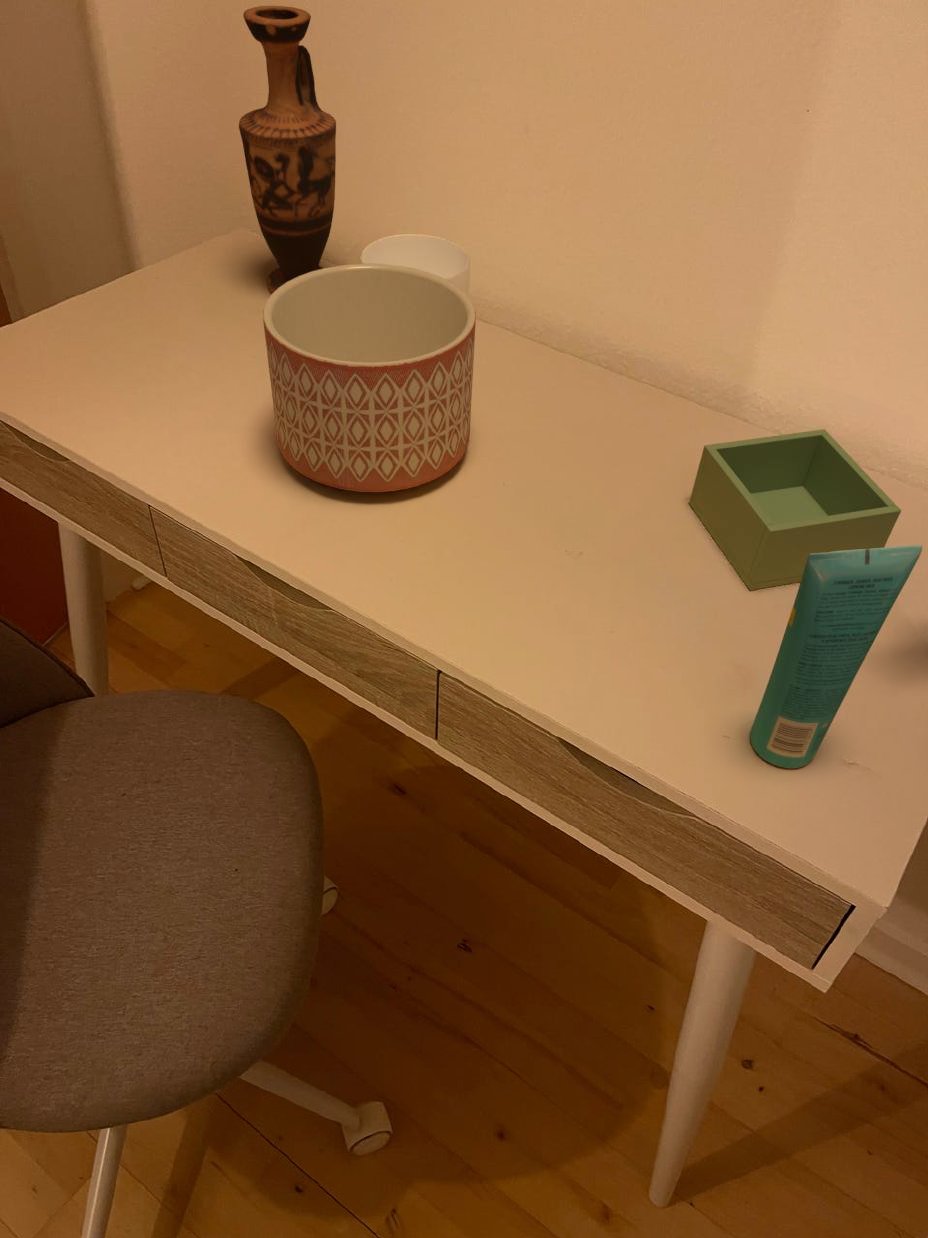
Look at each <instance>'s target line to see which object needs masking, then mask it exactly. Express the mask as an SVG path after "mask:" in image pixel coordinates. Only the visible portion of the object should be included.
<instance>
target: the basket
mask: <svg viewBox="0 0 928 1238" xmlns="http://www.w3.org/2000/svg"><path fill="white" fill-rule="evenodd" d="M688 504H689V506H690V508H691V509H692V510H693V512H694V513H695V515H696V516H697V517H698V519H699V520H700V521H701V523H702V525H703V526H704V528H705V529H706V530H707V531H708V533H709V535H710V536H711V537H712V538H713V540H714V541H715V543H716V544H717V546H718V547H719V549H720V550H721V552H722V553H723V555H724V556H725V557H726V559H727V560H728V562H729V563H730V564H731V566H732V567H733V569H734V570H735V571H736V573H737V574H738V576H739V577H740V579H741V580H742V582H743V583H744V584H745V586H746V588H747V589H748V590H749V591H756V590H761V589H766V588H772V587H778V586H785V585H789V584H797V583H801V579H802V576H803V572H804V569H805V565H806V561H807V559H808V556H809V554H811V553H824V552H825V553H827V552H833V551H843V550H858V549H872V548H884V547H886V544H887V542H888V540H889V538H890V536H891V533H892V532H893V529H894V527H895V525H896V523H897V521H898V518H899V516H900V514H901V513H902V510H901V509H900V507H899V506H898V505H897V504H896V503H895V502H894V501H893V500H892V498H890V497H889V496H888V495H887V493H885V491H884V490H883V489H882V488H881V487H880V486H879V485H878V484H877V483H876V482H875V481H874V480H873V479H872V478H871V477H870V476H869V474H868V473H866V471H865V470H864V469H863V468H862V467H861V466H860V465H859V464H858V462H857V461H855V460H854V458H852V456H851V455H850V454H849V453H848V452H847V451H846V450H845V449H844V448H843V446H842V445H840V444H839V442H837V440H835V438H834V437H833V436H832V435H831V434H830V433H829V432H828V431H827V430H826V429H824V428H823V429H816V430H809V431H801V432H794V433H793V432H792V433H786V434H779V435H771V436H764V437H755V438H749V439H743V440H742V439H741V440H735V441H728V442H719V443H713V444H712V443H711V444H705V445H704V446H703V450H702V453H701V457H700V460H699V464H698V468H697V472H696V475H695V478H694V483H693V487H692V491H691V495H690V498H689V501H688Z"/></svg>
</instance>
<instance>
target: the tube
mask: <svg viewBox="0 0 928 1238" xmlns="http://www.w3.org/2000/svg"><path fill="white" fill-rule="evenodd" d="M922 551H923V545H922V544H914V545H899V546H898V545H897V546H884V548H872V549H858V550H843V551H833V552H827V553H825V552H824V553H811V554H809V556H808V559H807V561H806V565H805V569H804V572H803V576H802V579H801V582H799V586H798V589H797V593H796V596H795V599H794V602H793V605H792V607H791V612H790V613H789V614H790V615H789V618H788V621H787V623H786V627H785V631H784V633H783V637H782V639H781V640H782V641H781V643H780V645H779V649H778V652H777V655H776V658H775V662H774V664H773V667H772V670H771V673H770V676H769V679H768V681H767V685H766V688H765V690H764V693H763V695H762V699H761V702H760V704H759V707H758V709H757V712H756V714H755V718H754V719H753V723H752V726H751V729H750V732H749V740H750V744H751V746H752V748H753V749H754V751H755V752H756V753H757V754H758V755H759V757H760V758H762V760H764V761H765V762H768V763H769V764H772V765H774V766H777V767H780V768H783V769H785V768H786V769H797V768H801V767H805V766H806V765H808V764H809V763H811V762H812V761H813V759H814V758H815V756H816V754H817V753H818V750H819V749H820V747H821V745H822V742H823V741H824V739H825V737H826V735H827V733H828V731H829V729H830V728H831V726H832V723H833V721H834V719H835V717H836V715H837V713H838V711H839V709H840V707H841V706H842V704H843V701H844V699H845V698H846V696H847V694H848V692H849V689H850V688H851V686H852V684H853V682H854V680H855V679H856V676H857V675H858V672H859V671H860V669H861V666H862V665H863V663H864V661H865V659H866V657H867V656H868V653H869V652H870V650H871V648H872V646H873V644H874V642H875V640H876V638H877V637H878V635H879V633H880V631H881V629H882V627H883V625H884V623H885V621H886V619H887V617H888V616H889V614H890V612H891V610H892V608H893V606H894V605H895V602H896V601H897V599H898V597H899V595H900V594H901V591H902V590H903V588H904V586H905V585H906V583H907V581H908V580H909V577H910V575H911V573H912V571H913V570H914V567H915V566H916V564H917V562H918V561H919V558H920V556H921V555H922Z"/></svg>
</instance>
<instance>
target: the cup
mask: <svg viewBox="0 0 928 1238" xmlns="http://www.w3.org/2000/svg"><path fill="white" fill-rule="evenodd" d="M359 264H388V265H397V266H403V267H409V268H414V269H418V270H421V271H425V272H429V273H431V274H434V275H437V276H439V277H441V278H443V279H445V280H447V281H449V282H451V283H453V284H454V285H456V286H457V287H459V288H460V289H461V290H462V291H463V292H464V293H465V294H466V295H467V296H468V297H469V298H470V296H469V295H470V276H471V256H470V255H469V253H468V252H467V251H466V249H464V247H463V246H461V245H460V244H458V243H456V242H454V241H452V240H450V239H447V238H443V237H440V236H435V235H430V234H420V233H405V234H395V235H390V236H385V237H382V238H378V239H376V240H375V241H372V242H370V243H369V244H367V245H366V246H365V247H364V248H363V249H362V251H361V253H360V255H359Z"/></svg>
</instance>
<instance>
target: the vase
mask: <svg viewBox="0 0 928 1238" xmlns="http://www.w3.org/2000/svg"><path fill="white" fill-rule="evenodd" d="M242 16H243V19H244V21H245V24H246V27H247V28H248V30H249V32H250V34H251V36H252V37H253V38H254V40H256V41H257V42H259V43H260V45H261V46H262V50H263V53H264V56H265V63H266V65H265V66H266V74H267V83H268V84H267V85H268V86H267V87H268V94H267V95H268V96H267V102H266V105H265V106H263V107H261V108H257V109H254V110H250V111H248V112H247V113H245V114H244V115H242V116H241V117H240V118H239V121H238V130H239V133H240V138H241V142H242V147H243V153H244V161H245V165H246V170H247V176H248V177H247V178H248V182H249V188H250V195H251V199H252V203H253V208H254V211H255V215H256V218H257V222H258V226H259V229H260V231H261V234H262V236H263V239H264V240H265V243H266V244H267V247H268V249H269V251H270V252H271V254H272V255H273V258H274V259H275V262H276V263H277V265H278V267H277V268H275V269H274V270H272V271H271V273H270V274H269V275H268V278H267V288H268V290H269V292H270V293H271V294H273V293H274V292H275V291H276V290H277V289H278V288H279V287H281V286H282V285H284V284H285V283H287V282H288V281H290V280H292V279H294V278H296V277H298V276H301V275H303V274H306V273H309V272H312V271H316V270H320V269H323V268H324V267H323V266H321V265H320V264H321V260H322V257H323V254H324V252H325V249H326V246H327V243H328V240H329V238H330V234H331V229H332V223H333V217H334V211H335V199H336V166H337V165H336V163H337V159H336V158H337V157H336V156H337V155H336V154H337V153H336V152H337V151H336V150H337V147H336V146H337V144H336V143H337V142H336V138H337V120H336V118H335V117H334V116H332V115H331V114H330V113H328V112H326V111H324V110H322V108H321V106H320V105H319V103H318V100H317V95H316V89H315V88H316V86H315V75H314V71H313V65H312V58H311V54H310V52H309V50H308V49H307V47H305V46H304V45H301V44H300V43H301V41H303V39H304V38H305V36H306V34H307V32H308V29H309V26H310V22H311V19H312V18H311V17H312V16H311V14H310V13H309V12H308V11H306V10H305V9H302V8H299V7H293V6H285V5H284V6H283V5H260V6H253V7H250V8H248V9H246V10H244V12H243V14H242Z"/></svg>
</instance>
